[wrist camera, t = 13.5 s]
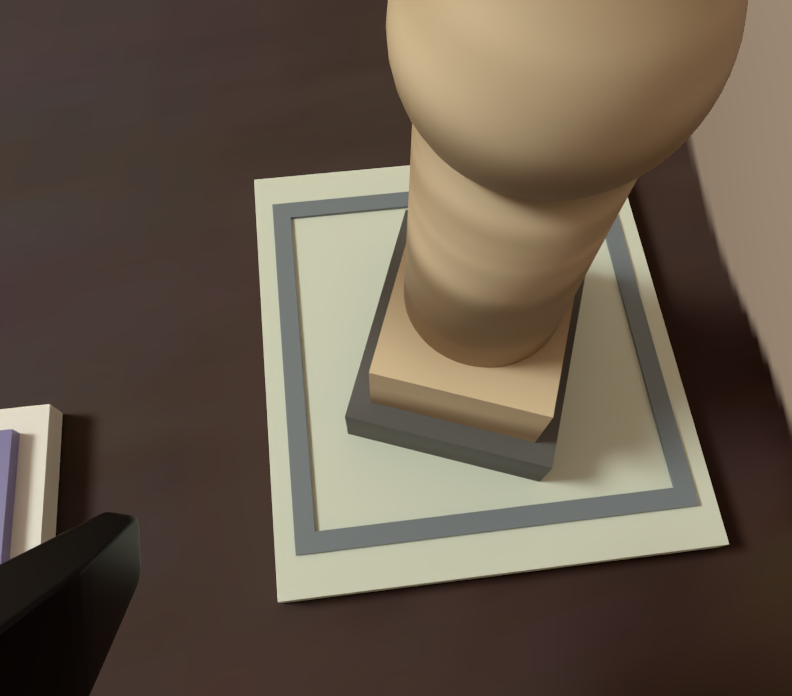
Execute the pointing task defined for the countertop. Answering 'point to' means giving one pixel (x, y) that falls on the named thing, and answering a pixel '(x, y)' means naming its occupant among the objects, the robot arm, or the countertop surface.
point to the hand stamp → (519, 203)
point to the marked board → (443, 478)
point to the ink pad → (28, 477)
